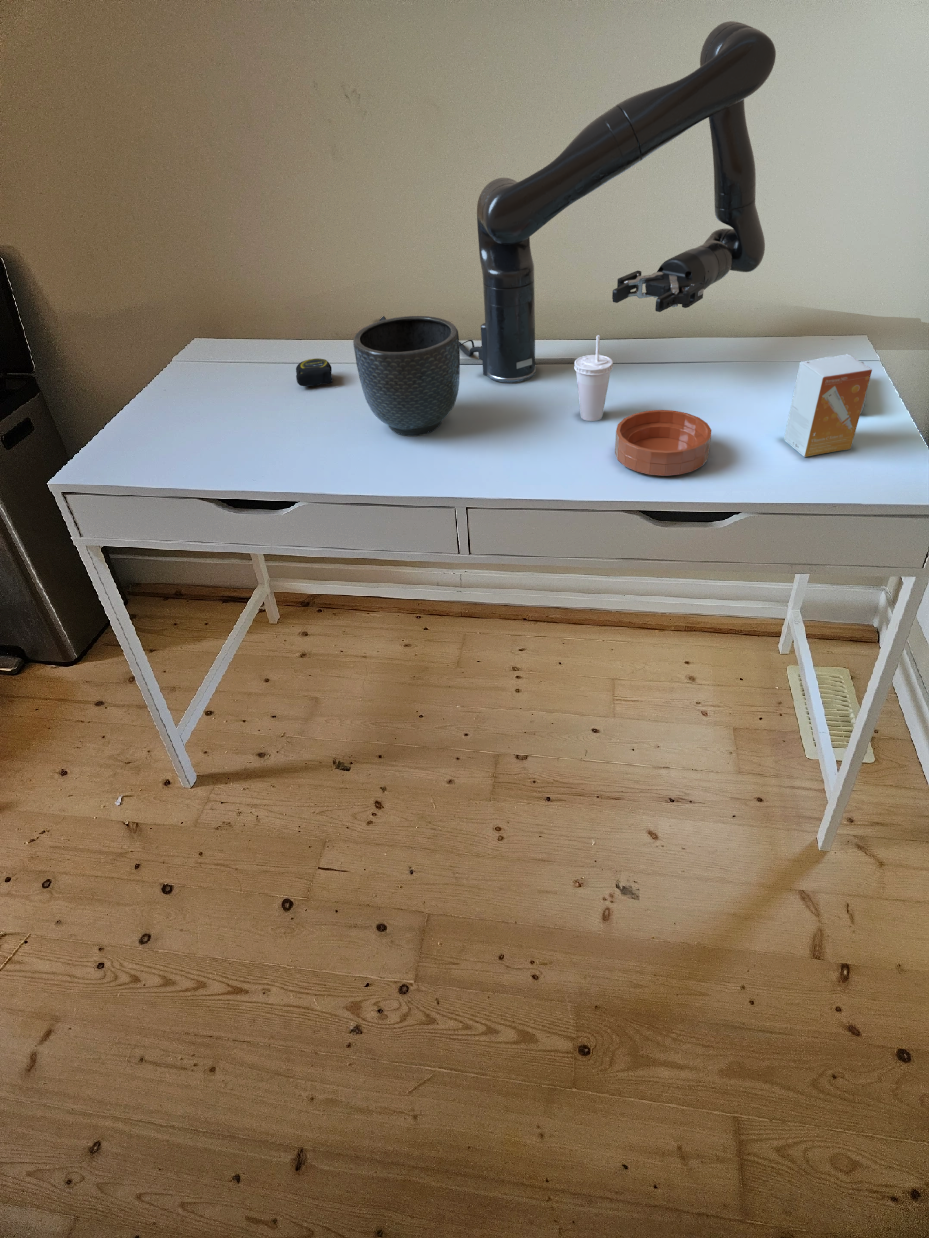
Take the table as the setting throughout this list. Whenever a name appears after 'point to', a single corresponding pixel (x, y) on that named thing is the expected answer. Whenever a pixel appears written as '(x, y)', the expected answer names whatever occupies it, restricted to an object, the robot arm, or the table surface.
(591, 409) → the smoothie
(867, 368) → the small box
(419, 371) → the planter
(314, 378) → the tape measure
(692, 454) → the bowl
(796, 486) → the table surface
